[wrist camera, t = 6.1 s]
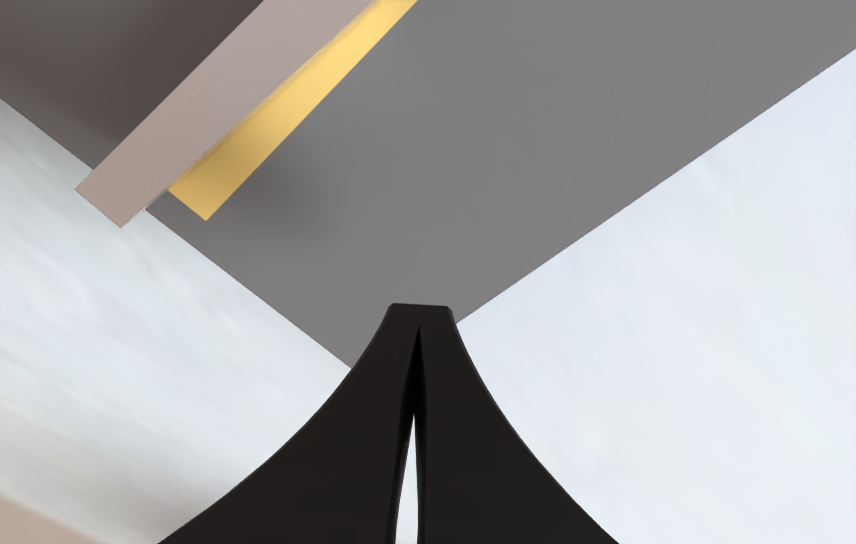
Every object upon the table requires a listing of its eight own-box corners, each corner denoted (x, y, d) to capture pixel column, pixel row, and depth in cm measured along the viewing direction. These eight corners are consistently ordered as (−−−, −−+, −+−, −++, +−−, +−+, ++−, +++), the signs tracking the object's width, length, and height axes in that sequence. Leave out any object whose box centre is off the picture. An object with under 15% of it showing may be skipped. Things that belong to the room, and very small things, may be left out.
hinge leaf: (357, -59, 11) (332, -69, 8) (391, -8, 11) (378, -4, 9) (143, 148, 13) (74, 189, 11) (179, 181, 14) (120, 228, 11)
